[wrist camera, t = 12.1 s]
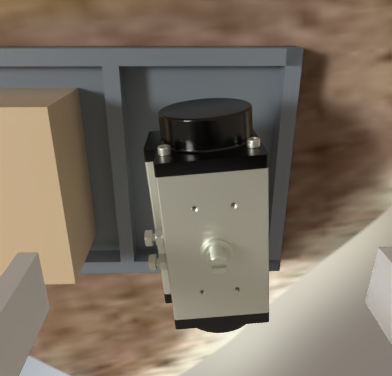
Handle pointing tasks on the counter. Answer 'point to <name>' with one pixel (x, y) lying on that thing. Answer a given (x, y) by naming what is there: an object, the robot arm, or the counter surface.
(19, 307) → the robot arm
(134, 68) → the bay tray
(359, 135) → the counter surface
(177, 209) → the pneumatic valve
